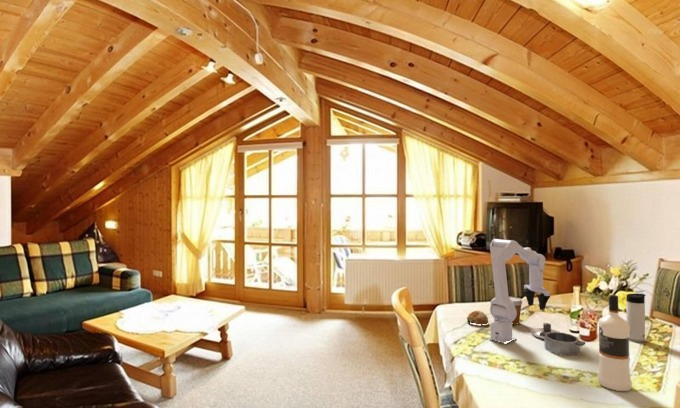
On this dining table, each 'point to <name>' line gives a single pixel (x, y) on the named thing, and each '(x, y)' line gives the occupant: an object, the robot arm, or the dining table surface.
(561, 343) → the pot
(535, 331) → the lid
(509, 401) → the dining table surface
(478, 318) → the bread roll
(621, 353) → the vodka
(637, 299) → the travel mug
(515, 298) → the disposable coffee cup
